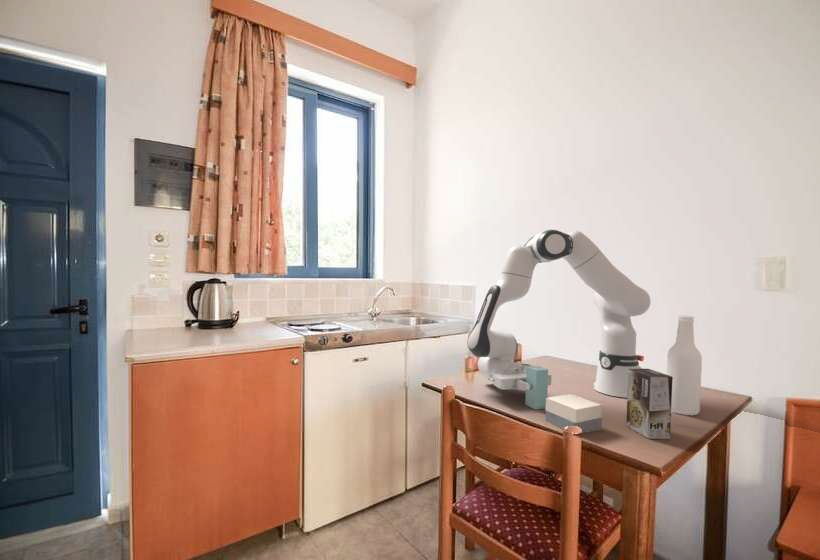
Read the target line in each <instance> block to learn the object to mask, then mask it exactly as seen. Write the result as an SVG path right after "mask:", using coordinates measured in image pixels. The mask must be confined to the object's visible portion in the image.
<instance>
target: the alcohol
mask: <svg viewBox="0 0 820 560" xmlns="http://www.w3.org/2000/svg"><path fill="white" fill-rule="evenodd" d="M677 317H678V320H677V321H678V325H677V330H676V338H675V339H676V340H675V343H674V344H673V345H672V346H671V347H669V349H668V352H667V353H666V356H667V357H666V375H669V376H672V377H673V380H672V403H671V413H674V414H677V413H678V415H681V414H682V415H683V416H688V415H689V416H690V415H691V417H694V416H693V415H695V416H697V415H698V414H699V413H700V411H701V410H700V408H701V390H702V389H701V386H702V385H701V384H702V369H703V367H702V365H703V357H702V353H701V352H700V351H699V349H698V348H697V347H696V344H695V334H694V331H695V330H694V322H695V321H694V319H695V317H694V316H692V315H683V314H681V315H680V314H679V315H678V316H677Z"/></svg>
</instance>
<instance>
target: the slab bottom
mask: <svg viewBox="0 0 820 560" xmlns="http://www.w3.org/2000/svg"><path fill="white" fill-rule="evenodd" d="M602 419H603V418H602V417H601V418H597V419H592V420H588V421H583V422H578V423H574V422H572V421H570V420H567V419H565V418H562V417H560V416H558V415H555V414H553V413H551V412H548V411H546V410H545V421H546V422H547V423H549V424H552V425H553V426H555V427H557V426H558V428H559V427H560V428H559V429H561V428H564V427H566V426H578V427H580V428H581V429H582V432H583V433H582V434H586V433H589V432H588V431H592V432H596V431H595V430H598V431H602V425H603V424H602V422H603V421H602ZM585 432H586V433H585Z"/></svg>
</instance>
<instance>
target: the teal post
mask: <svg viewBox="0 0 820 560" xmlns="http://www.w3.org/2000/svg"><path fill="white" fill-rule="evenodd" d="M548 373H549V369H548V368H545V367H543V366H540V365H537V366H536V365H535V366H534V365H533V367H527V374H526V383H531V384H533V389H532V390H527V389H525V403H524V405H525V406H527V407H529V408H530V409H533V410H541V409H544V410H545V409H546V398H548V388H547V387H549V385H548Z"/></svg>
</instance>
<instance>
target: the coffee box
mask: <svg viewBox="0 0 820 560" xmlns="http://www.w3.org/2000/svg"><path fill="white" fill-rule="evenodd" d="M672 380H673V377H672V376H669V375H667V373H662V372H659V371H657V370H653V369H650V368H642V369H628V389H627V398H626V423H625V425H626V426H627V427H628V428H629V429H632V430H633V431H635V432H637V434H640V435H641V436H643V437H645V438H647V439H648V440H649V439H650V440H654V439H655V440H656V439H657V440H670V438H671V425H672V424H671V422H672V412H671V403H672Z"/></svg>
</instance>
